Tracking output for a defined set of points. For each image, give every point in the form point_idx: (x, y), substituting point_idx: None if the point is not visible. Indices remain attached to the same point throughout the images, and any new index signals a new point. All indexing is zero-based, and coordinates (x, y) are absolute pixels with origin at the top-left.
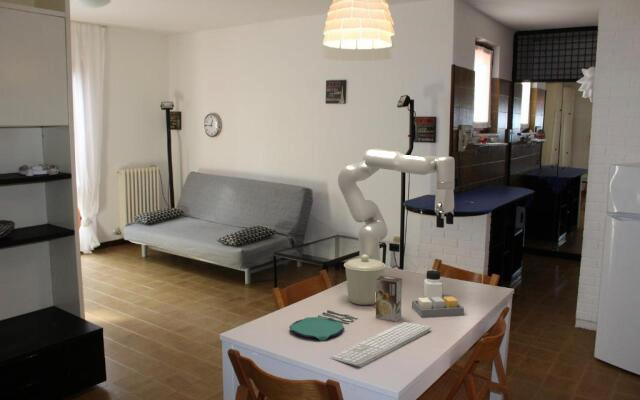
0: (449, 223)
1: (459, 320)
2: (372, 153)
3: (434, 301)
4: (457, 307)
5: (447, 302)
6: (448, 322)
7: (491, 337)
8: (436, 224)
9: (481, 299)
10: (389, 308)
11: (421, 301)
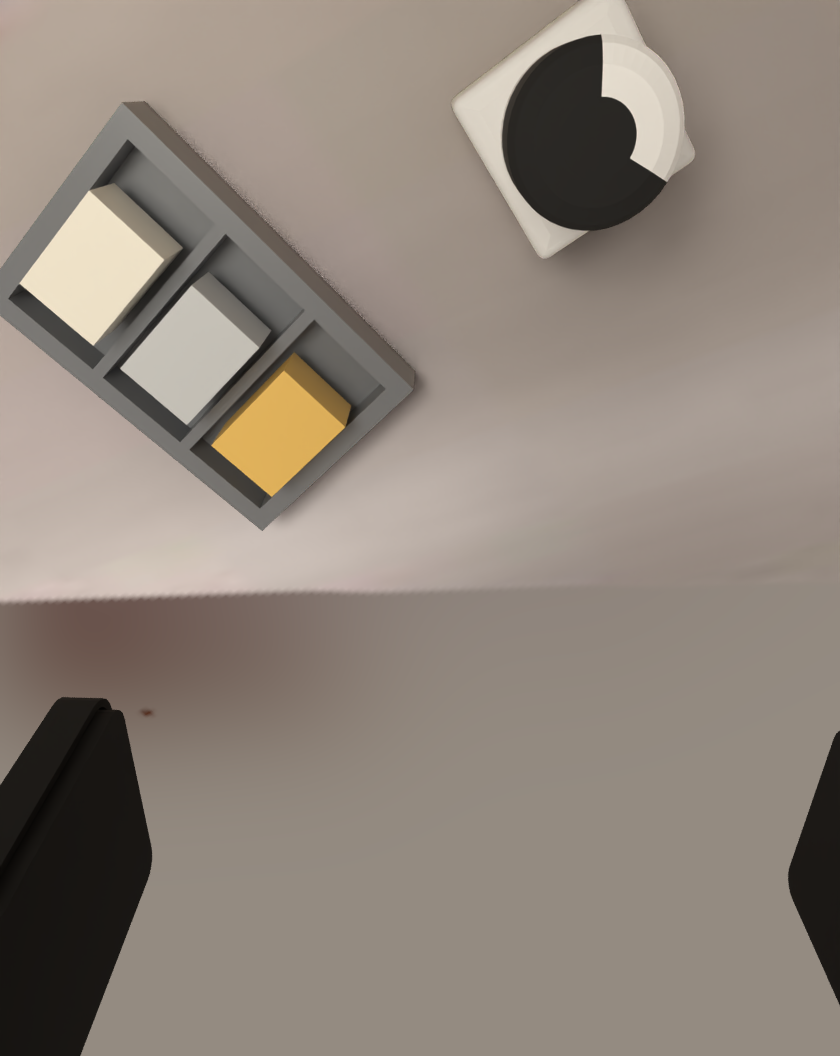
0: (817, 824)
1: (162, 517)
2: None
3: (135, 351)
4: None
5: (226, 427)
6: (77, 477)
7: None
8: (22, 757)
9: (681, 491)
10: None
11: (34, 264)
